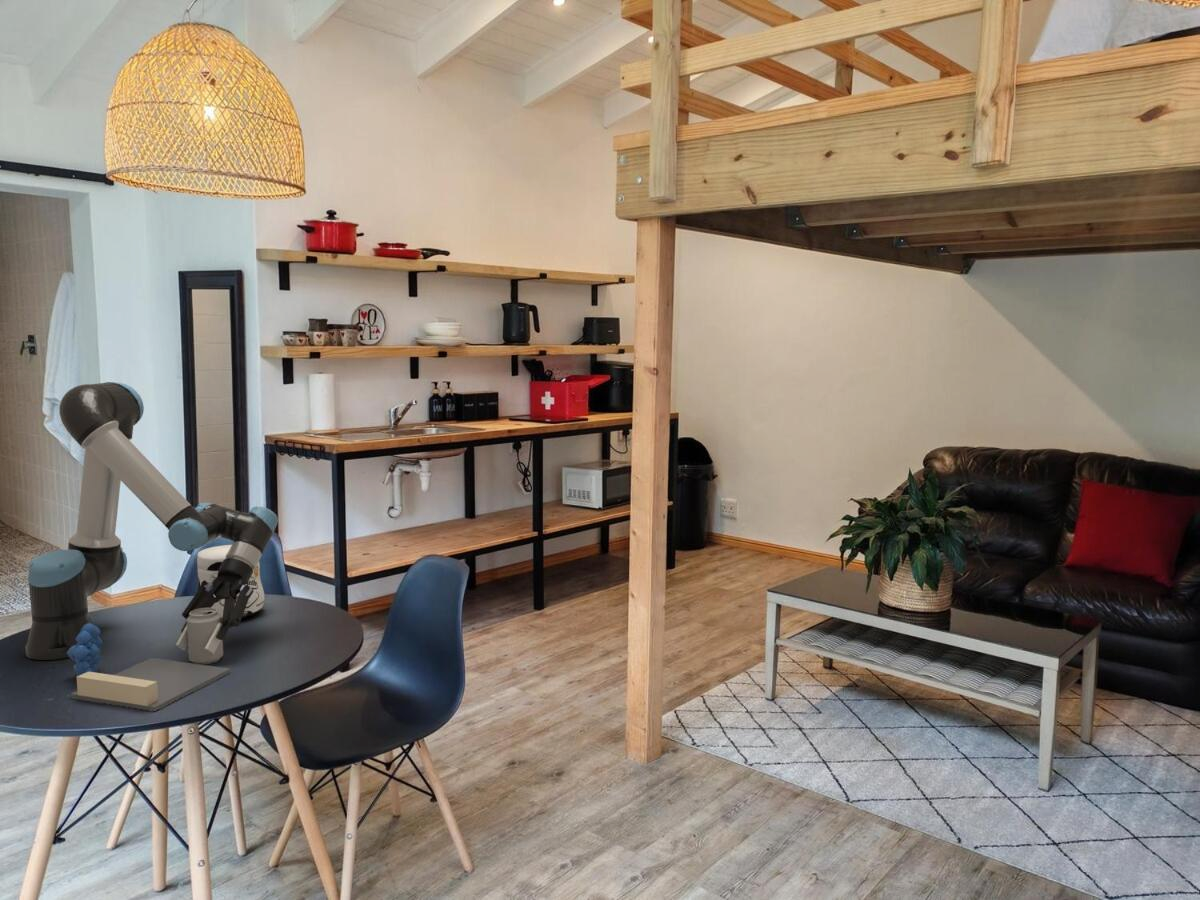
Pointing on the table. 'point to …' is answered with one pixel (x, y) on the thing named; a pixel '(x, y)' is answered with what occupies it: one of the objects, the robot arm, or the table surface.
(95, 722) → the table surface
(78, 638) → the grapes
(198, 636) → the can
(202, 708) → the table surface
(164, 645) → the table surface
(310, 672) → the table surface
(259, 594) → the milk container
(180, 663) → the stop plate
